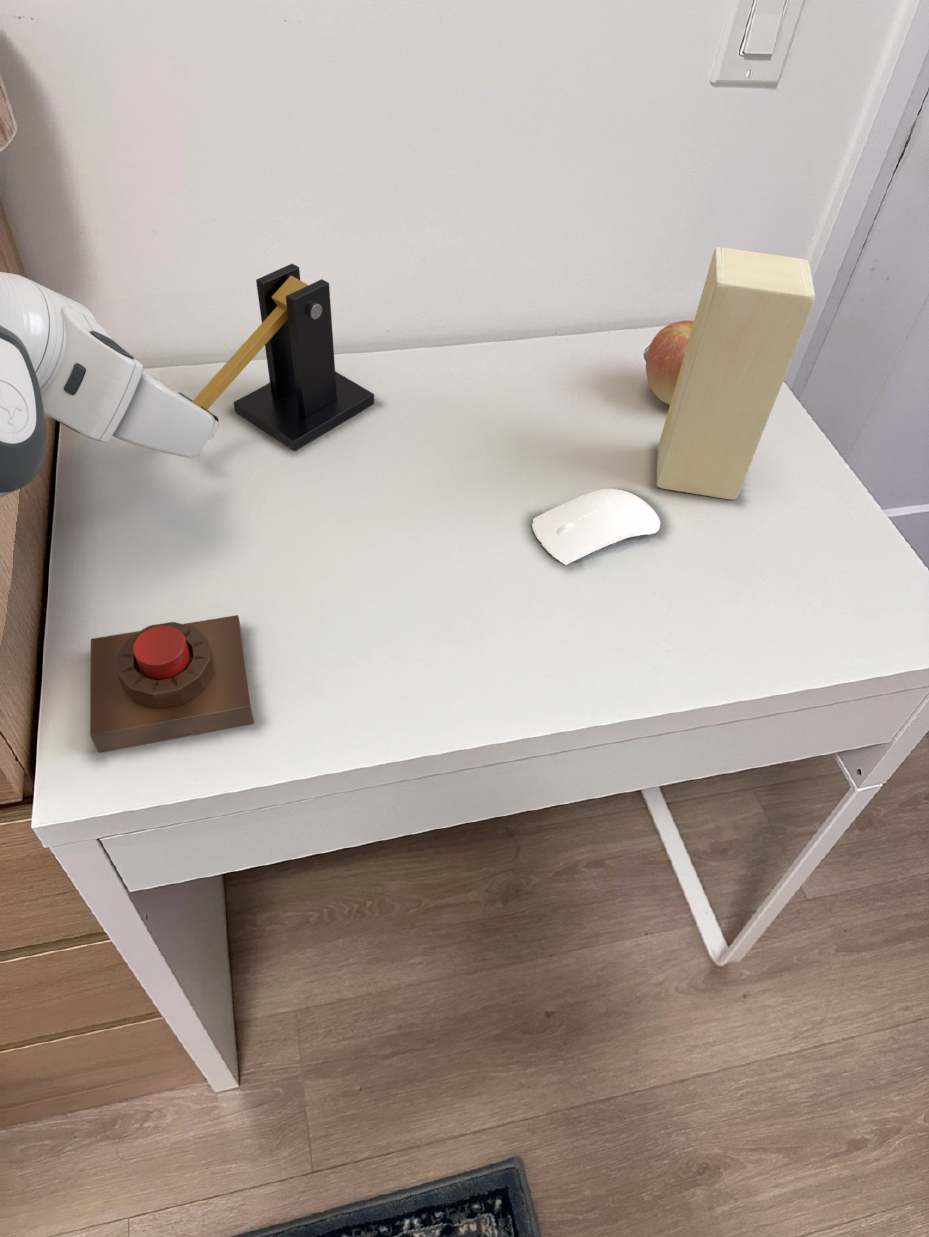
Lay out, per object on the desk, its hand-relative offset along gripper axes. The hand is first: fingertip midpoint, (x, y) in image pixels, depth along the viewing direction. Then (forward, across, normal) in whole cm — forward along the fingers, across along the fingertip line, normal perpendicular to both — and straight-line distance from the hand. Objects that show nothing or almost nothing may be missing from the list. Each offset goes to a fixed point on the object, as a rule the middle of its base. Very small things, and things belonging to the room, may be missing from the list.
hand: (176, 405), depth 77 cm
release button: (-9, +19, -14) cm, 26 cm away
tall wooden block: (+29, +35, +19) cm, 50 cm away
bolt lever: (+6, 0, +7) cm, 9 cm away
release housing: (-7, +20, -17) cm, 27 cm away
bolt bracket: (+15, 0, +5) cm, 16 cm away
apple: (+36, +27, +26) cm, 52 cm away
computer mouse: (+20, +33, +9) cm, 39 cm away
